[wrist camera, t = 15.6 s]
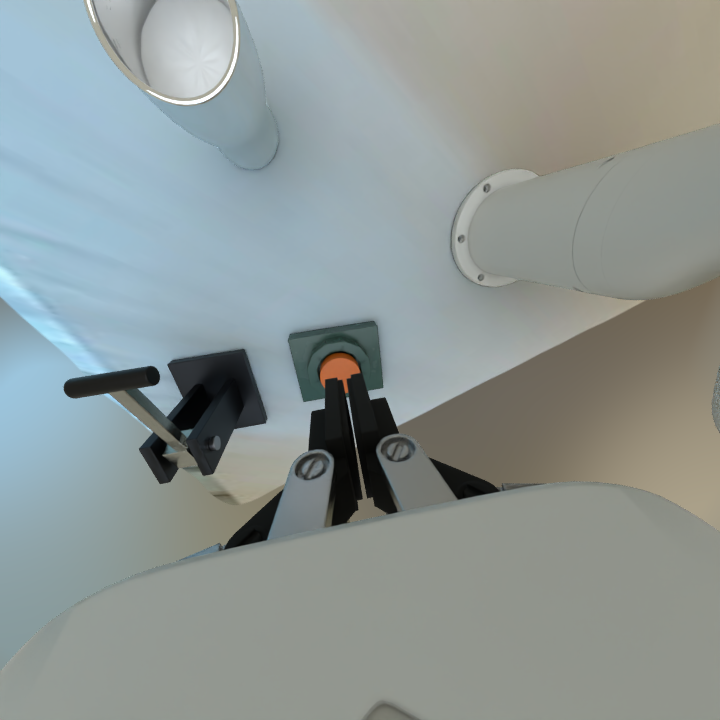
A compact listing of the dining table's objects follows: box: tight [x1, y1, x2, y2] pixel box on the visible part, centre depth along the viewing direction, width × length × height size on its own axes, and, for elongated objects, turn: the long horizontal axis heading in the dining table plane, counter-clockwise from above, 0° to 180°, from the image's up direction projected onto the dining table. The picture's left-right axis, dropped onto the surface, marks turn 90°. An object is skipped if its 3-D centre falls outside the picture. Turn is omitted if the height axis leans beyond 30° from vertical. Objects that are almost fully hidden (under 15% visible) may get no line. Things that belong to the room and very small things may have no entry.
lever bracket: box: [139, 349, 267, 484], centre depth 31 cm, size 11×9×13 cm
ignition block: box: [288, 321, 383, 402], centre depth 35 cm, size 11×9×4 cm
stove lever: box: [64, 366, 197, 468], centre depth 23 cm, size 12×6×2 cm, turn 7°
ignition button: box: [320, 353, 360, 393], centre depth 33 cm, size 5×5×2 cm
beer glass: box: [83, 0, 278, 170], centre depth 19 cm, size 7×7×15 cm
